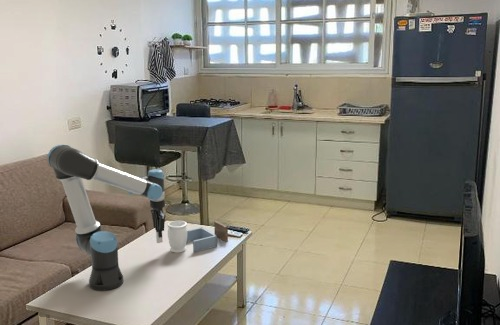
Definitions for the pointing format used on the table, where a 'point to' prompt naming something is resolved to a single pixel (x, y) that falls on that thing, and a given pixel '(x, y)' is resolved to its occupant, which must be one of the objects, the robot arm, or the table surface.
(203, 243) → the grey shallow box
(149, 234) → the table surface
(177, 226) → the jar
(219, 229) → the block
